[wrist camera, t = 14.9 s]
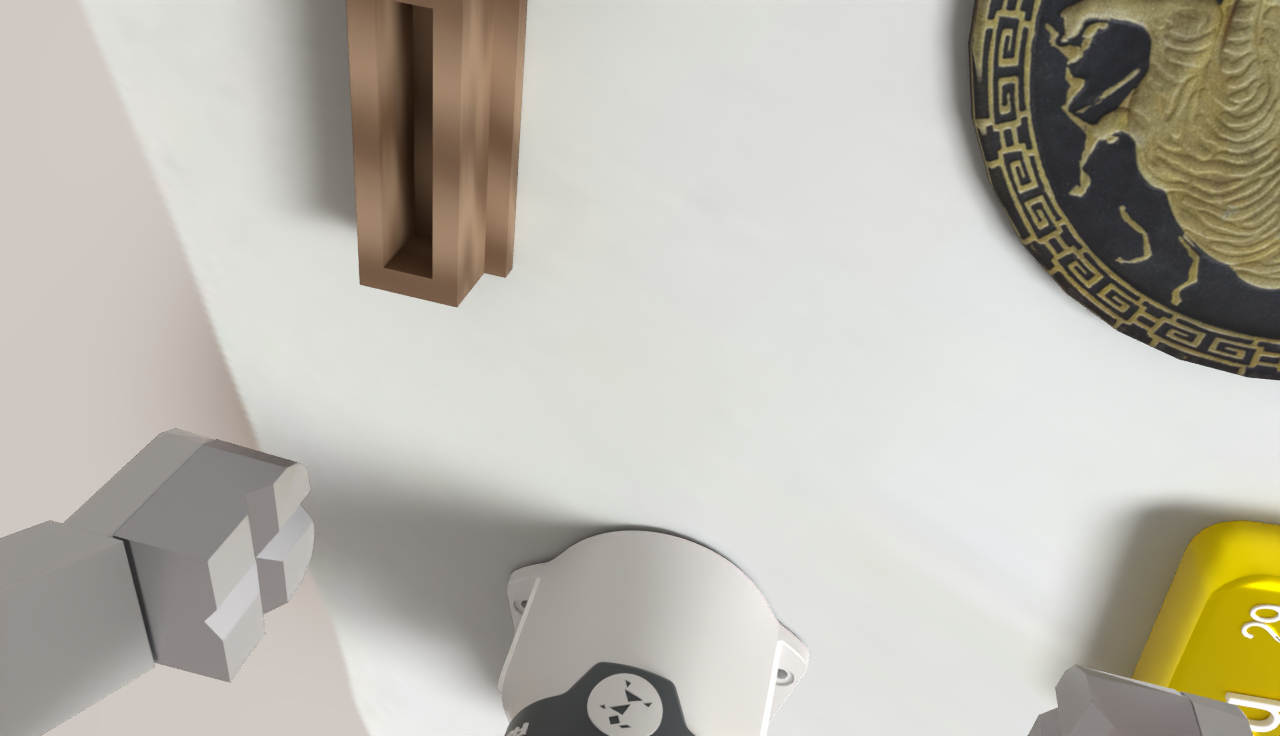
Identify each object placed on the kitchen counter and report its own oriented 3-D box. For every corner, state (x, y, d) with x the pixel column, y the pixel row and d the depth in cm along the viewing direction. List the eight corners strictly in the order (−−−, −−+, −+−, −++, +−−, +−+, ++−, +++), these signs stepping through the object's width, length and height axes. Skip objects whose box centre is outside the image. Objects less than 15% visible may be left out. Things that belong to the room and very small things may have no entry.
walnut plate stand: (512, 268, 48) (479, 312, 44) (380, 238, 49) (337, 279, 45) (529, -37, 40) (491, -13, 36) (370, -67, 40) (317, -47, 37)
